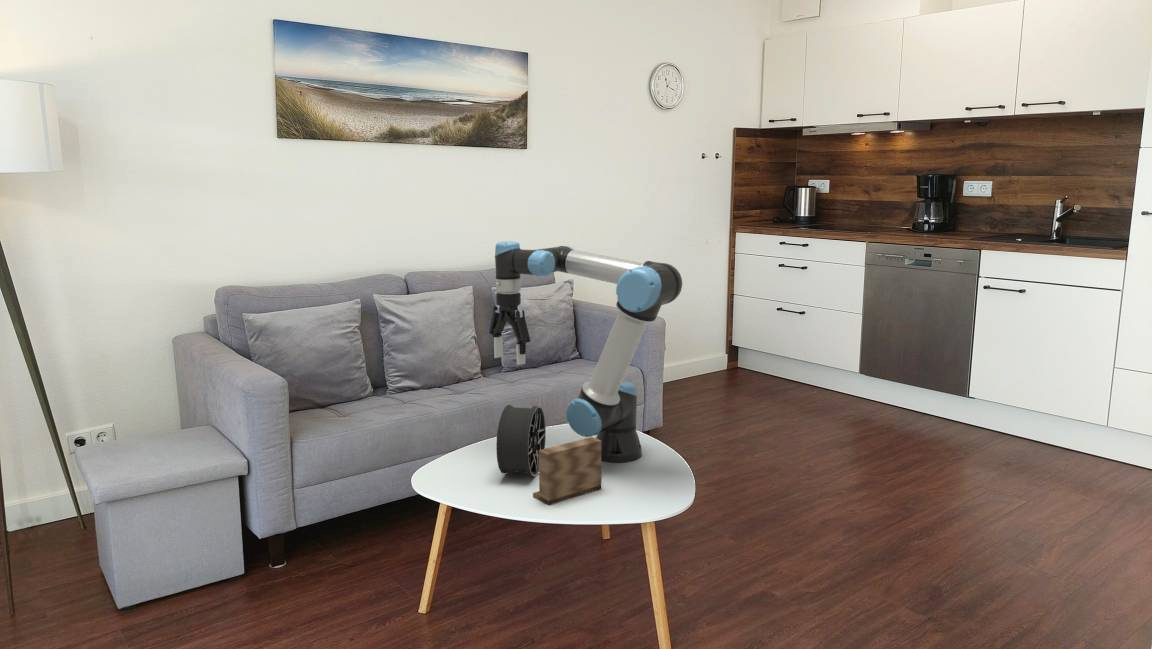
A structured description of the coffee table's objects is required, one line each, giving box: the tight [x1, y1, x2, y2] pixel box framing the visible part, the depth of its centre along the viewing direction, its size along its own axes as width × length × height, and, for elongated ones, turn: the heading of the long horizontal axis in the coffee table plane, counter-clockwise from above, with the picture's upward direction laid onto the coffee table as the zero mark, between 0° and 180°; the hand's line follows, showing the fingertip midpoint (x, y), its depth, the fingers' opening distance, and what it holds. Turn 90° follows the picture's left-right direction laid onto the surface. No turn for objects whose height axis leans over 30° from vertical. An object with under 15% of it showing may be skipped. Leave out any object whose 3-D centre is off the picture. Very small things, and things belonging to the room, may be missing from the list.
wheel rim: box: [495, 404, 547, 477], centre depth 237 cm, size 20×9×20 cm, turn 168°
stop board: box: [532, 436, 602, 506], centre depth 222 cm, size 18×7×14 cm, turn 128°
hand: (509, 360), depth 256 cm, fingers open, 12 cm apart
